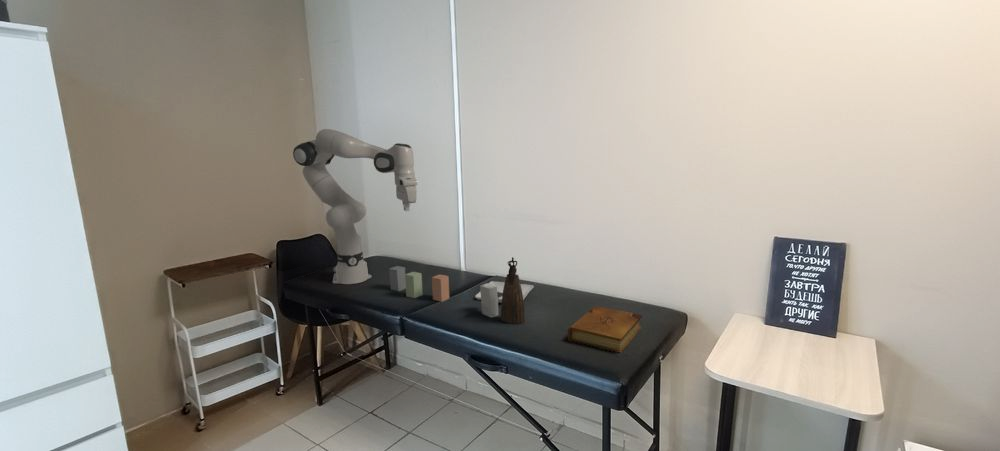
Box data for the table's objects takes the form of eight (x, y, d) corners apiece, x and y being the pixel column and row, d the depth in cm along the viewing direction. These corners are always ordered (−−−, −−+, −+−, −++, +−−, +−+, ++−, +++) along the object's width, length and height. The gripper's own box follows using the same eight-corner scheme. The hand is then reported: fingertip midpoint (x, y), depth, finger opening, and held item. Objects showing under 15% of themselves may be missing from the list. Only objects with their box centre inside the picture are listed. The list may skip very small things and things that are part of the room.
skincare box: (499, 315, 185) (498, 286, 182) (490, 318, 182) (489, 288, 180) (489, 311, 189) (488, 282, 187) (480, 313, 187) (479, 284, 184)
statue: (521, 315, 184) (520, 255, 178) (526, 323, 177) (525, 261, 170) (499, 318, 182) (498, 257, 176) (504, 326, 175) (502, 263, 169)
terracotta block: (440, 296, 204) (439, 274, 202) (449, 298, 201) (448, 276, 199) (432, 299, 200) (431, 277, 198) (441, 301, 197) (440, 279, 195)
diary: (592, 319, 180) (593, 305, 179) (641, 329, 170) (642, 314, 169) (567, 341, 161) (567, 326, 160) (620, 354, 151) (621, 338, 150)
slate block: (398, 286, 219) (397, 265, 217) (406, 288, 216) (404, 267, 214) (390, 289, 215) (389, 268, 213) (398, 291, 212) (396, 270, 210)
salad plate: (522, 308, 192) (521, 300, 192) (474, 303, 199) (473, 296, 198) (534, 291, 212) (534, 284, 211) (490, 287, 219) (490, 280, 218)
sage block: (414, 293, 209) (413, 271, 207) (422, 295, 206) (421, 273, 204) (406, 296, 205) (405, 274, 203) (414, 298, 202) (413, 276, 200)
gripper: (392, 178, 216) (393, 208, 219) (404, 182, 199) (406, 214, 201) (405, 178, 219) (407, 207, 222) (418, 181, 201) (420, 213, 204)
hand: (406, 210), depth 211 cm, fingers closed
